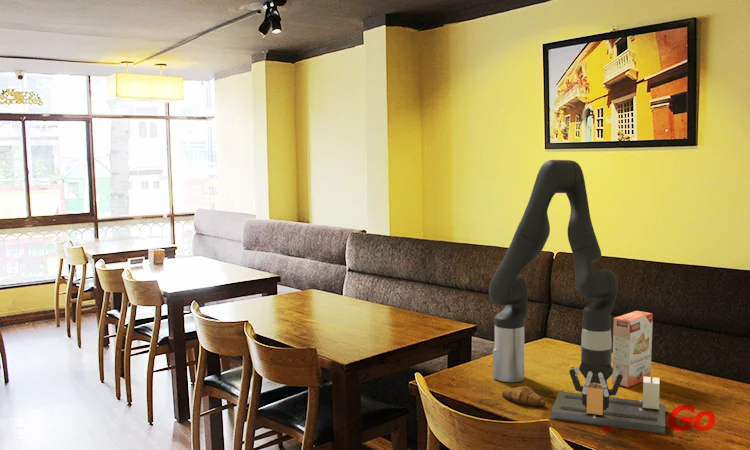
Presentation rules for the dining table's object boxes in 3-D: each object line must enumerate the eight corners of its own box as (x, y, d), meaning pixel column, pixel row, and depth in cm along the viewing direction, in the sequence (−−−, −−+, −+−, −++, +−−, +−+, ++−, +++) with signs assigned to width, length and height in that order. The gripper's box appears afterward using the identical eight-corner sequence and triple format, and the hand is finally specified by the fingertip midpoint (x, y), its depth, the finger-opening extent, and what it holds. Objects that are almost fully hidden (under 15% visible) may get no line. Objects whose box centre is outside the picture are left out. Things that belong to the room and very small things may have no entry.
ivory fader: (642, 407, 174) (643, 381, 173) (643, 400, 178) (643, 375, 178) (658, 409, 172) (659, 383, 172) (658, 402, 177) (659, 377, 176)
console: (550, 419, 173) (550, 411, 173) (559, 396, 189) (559, 389, 189) (665, 435, 162) (665, 426, 162) (664, 409, 178) (664, 402, 178)
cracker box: (629, 389, 194) (630, 320, 192) (611, 383, 199) (612, 317, 197) (652, 377, 203) (653, 312, 201) (634, 373, 208) (635, 309, 206)
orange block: (586, 413, 171) (586, 386, 170) (588, 406, 176) (588, 380, 175) (602, 415, 169) (603, 388, 169) (604, 408, 174) (604, 382, 173)
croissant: (550, 404, 184) (550, 387, 184) (538, 412, 179) (538, 394, 179) (509, 393, 193) (509, 377, 193) (496, 400, 188) (496, 383, 188)
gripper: (566, 346, 170) (566, 409, 172) (624, 351, 164) (623, 416, 166) (570, 338, 177) (569, 399, 179) (625, 343, 171) (624, 406, 173)
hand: (595, 407), depth 172 cm, fingers closed on orange block, 4 cm apart
